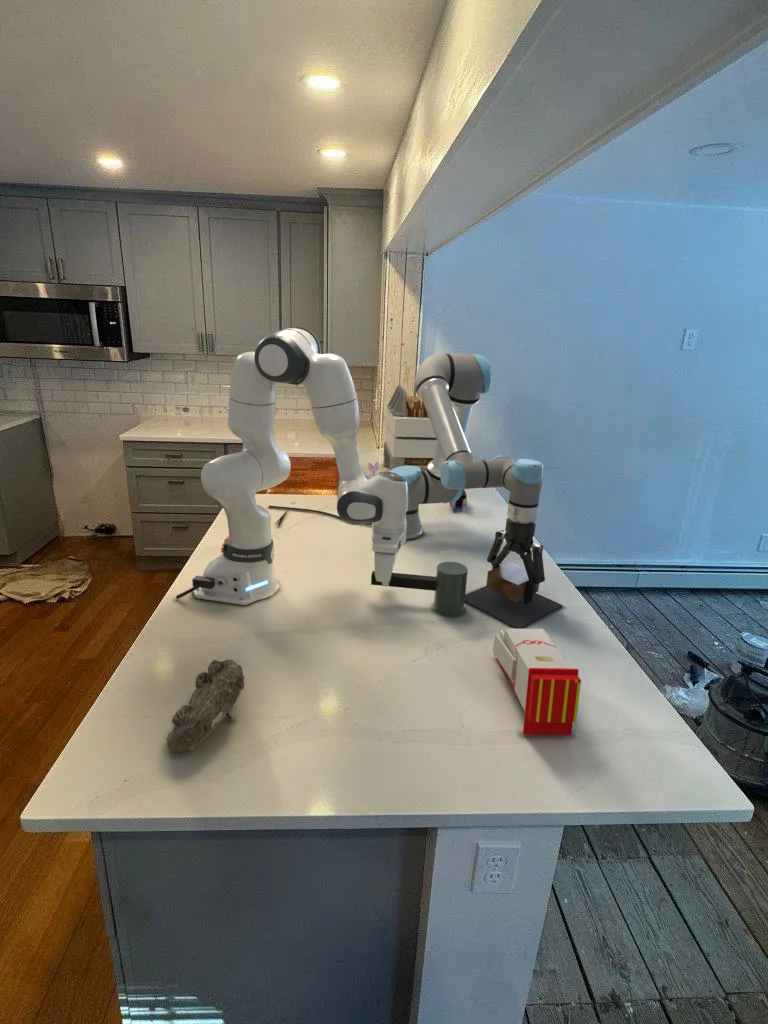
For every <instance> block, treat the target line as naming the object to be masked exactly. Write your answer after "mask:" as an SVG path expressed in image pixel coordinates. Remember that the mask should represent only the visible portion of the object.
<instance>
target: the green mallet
mask: <svg viewBox="0 0 768 1024" xmlns="http://www.w3.org/2000/svg"><path fill="white" fill-rule="evenodd" d="M468 571H469V569H468V567H467V566H466V565H465V564H463V563H461V562H457V561H442V562H440V563H438V564H437V565H436V572H435V576H433V575H432V576H431V575H423V574H410V573H400V572H392V575H391V580H390V582H389V586H388V587H392V588H401V589H413V590H422V591H423V590H424V591H433V592H434V597H433V598H434V599H433V610H434V611H435V612H436V613H437V614H439V615H442V616H445V617H457V616H460V615H462V614H463V613H464V611H465V604H466V603H465V595H466V594H467V592H466V591H467V581H468ZM370 576H371V577H370V585H371V586H382V582H378V581H376V578H375V570H372V572H371V575H370ZM382 587H383V586H382Z"/></svg>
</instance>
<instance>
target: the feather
mask: <svg viewBox="0 0 768 1024" xmlns="http://www.w3.org/2000/svg"><path fill="white" fill-rule="evenodd" d="M287 512H288V510H286V511H285V512H284V513H283V514H282V515H281V517H280V518H278V520H277V521H276V522H275V523H274V524H276V523H277V524H278V526H277V527H278V528H279V527H280V525H281V524H282V522H283V519H284V518H285V516H286V514H287Z"/></svg>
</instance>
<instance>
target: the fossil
mask: <svg viewBox="0 0 768 1024" xmlns="http://www.w3.org/2000/svg"><path fill="white" fill-rule="evenodd" d="M243 670H244V669H243V667H242V665H240V664H237V662H236V661H235V660H234V659H232V658H231V659H227V658H226V659H224V660H223V661H222V660H217V659H212V660H211V661H210V663H209V665H208V666H207V671H201V672H199V673H198V674H197V675H196V676H195V680H194V684H195V685H194V687H195V689H194V690H193V693H192V694H191V697H190V698H189V700H188V704H184V705H182V706H181V707H180V709H177V710H176V711H175V713H174V715H173V716H172V718H171V723H172V724H173V727H172V730H171V731H170V732H168V734H167V738H166V741H167V742H166V745H167V749H168V750H169V751H173V752H174V753H176V754H178V753H182V752H188V751H189V752H192V751H193V750H195V748H196V747H197V746H199V744H200V743H201V742H203V741H204V740H205V739H206V738H207V737H208V736H209V735H210V734H211V733H212V732H214V730H215V729H217V727H218V726H219V724H220V722H221V721H222V720H223V719H224V718H225V716H226V717H227V719H229V720H233V717H232V715H230V714H229V710H230V709H231V708H234V706H235V704H236V703H237V702H238V699H239V697H240V695H241V693H242V691H243V690H245V689H244V688H245V675H244V671H243Z"/></svg>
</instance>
